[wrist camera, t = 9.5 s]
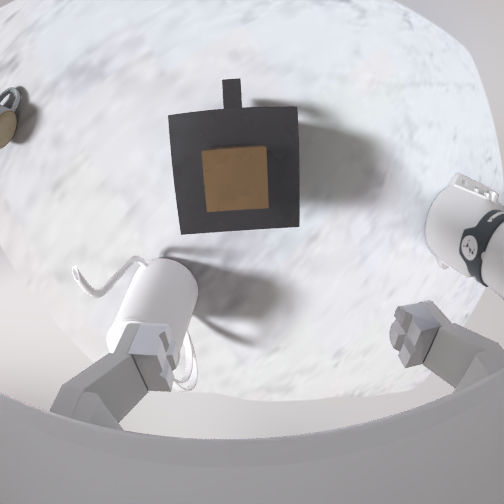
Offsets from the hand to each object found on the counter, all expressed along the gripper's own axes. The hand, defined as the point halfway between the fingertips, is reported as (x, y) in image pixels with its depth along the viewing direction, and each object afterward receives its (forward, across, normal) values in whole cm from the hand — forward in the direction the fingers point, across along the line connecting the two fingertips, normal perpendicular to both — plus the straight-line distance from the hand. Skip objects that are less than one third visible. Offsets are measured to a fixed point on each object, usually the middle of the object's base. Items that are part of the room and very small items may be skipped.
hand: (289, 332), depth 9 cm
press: (+31, +2, -5) cm, 31 cm away
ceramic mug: (+31, +43, -18) cm, 56 cm away
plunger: (+29, +2, -3) cm, 30 cm away
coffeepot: (+31, +15, +16) cm, 38 cm away
